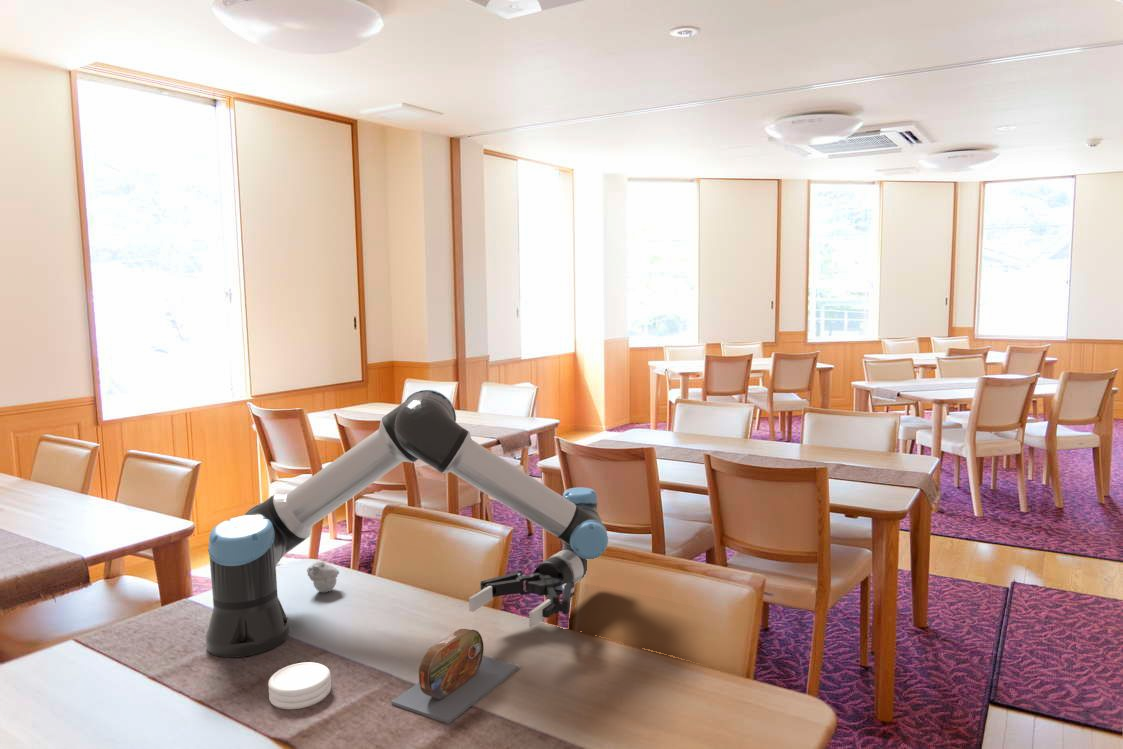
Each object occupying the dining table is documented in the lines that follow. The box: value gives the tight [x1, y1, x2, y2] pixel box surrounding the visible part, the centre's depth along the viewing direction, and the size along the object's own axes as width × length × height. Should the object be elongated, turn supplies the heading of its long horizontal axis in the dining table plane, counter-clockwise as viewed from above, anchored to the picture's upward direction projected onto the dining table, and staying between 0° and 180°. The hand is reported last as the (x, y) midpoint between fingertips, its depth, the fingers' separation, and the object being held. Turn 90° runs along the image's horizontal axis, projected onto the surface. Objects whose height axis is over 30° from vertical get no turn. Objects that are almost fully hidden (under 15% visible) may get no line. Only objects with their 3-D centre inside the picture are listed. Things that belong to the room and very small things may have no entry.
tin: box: [418, 628, 484, 699], centre depth 132 cm, size 15×3×8 cm, turn 150°
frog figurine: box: [306, 560, 340, 593], centre depth 174 cm, size 6×7×7 cm
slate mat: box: [391, 655, 519, 725], centre depth 133 cm, size 12×20×1 cm, turn 150°
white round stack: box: [267, 661, 332, 710], centre depth 131 cm, size 10×10×4 cm
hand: (500, 612), depth 143 cm, fingers open, 13 cm apart
